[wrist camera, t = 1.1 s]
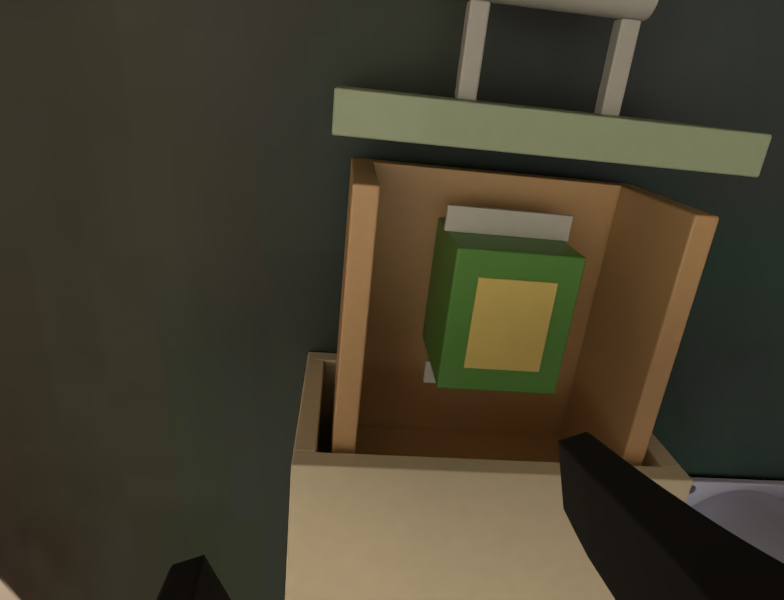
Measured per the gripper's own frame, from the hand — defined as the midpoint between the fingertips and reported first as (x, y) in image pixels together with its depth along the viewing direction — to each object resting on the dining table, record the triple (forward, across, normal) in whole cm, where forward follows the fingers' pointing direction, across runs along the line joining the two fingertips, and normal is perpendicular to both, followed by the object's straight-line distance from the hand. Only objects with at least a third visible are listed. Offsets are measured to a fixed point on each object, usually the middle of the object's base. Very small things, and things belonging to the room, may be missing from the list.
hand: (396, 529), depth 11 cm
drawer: (+13, -6, +1) cm, 14 cm away
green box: (+11, -6, +2) cm, 13 cm away
